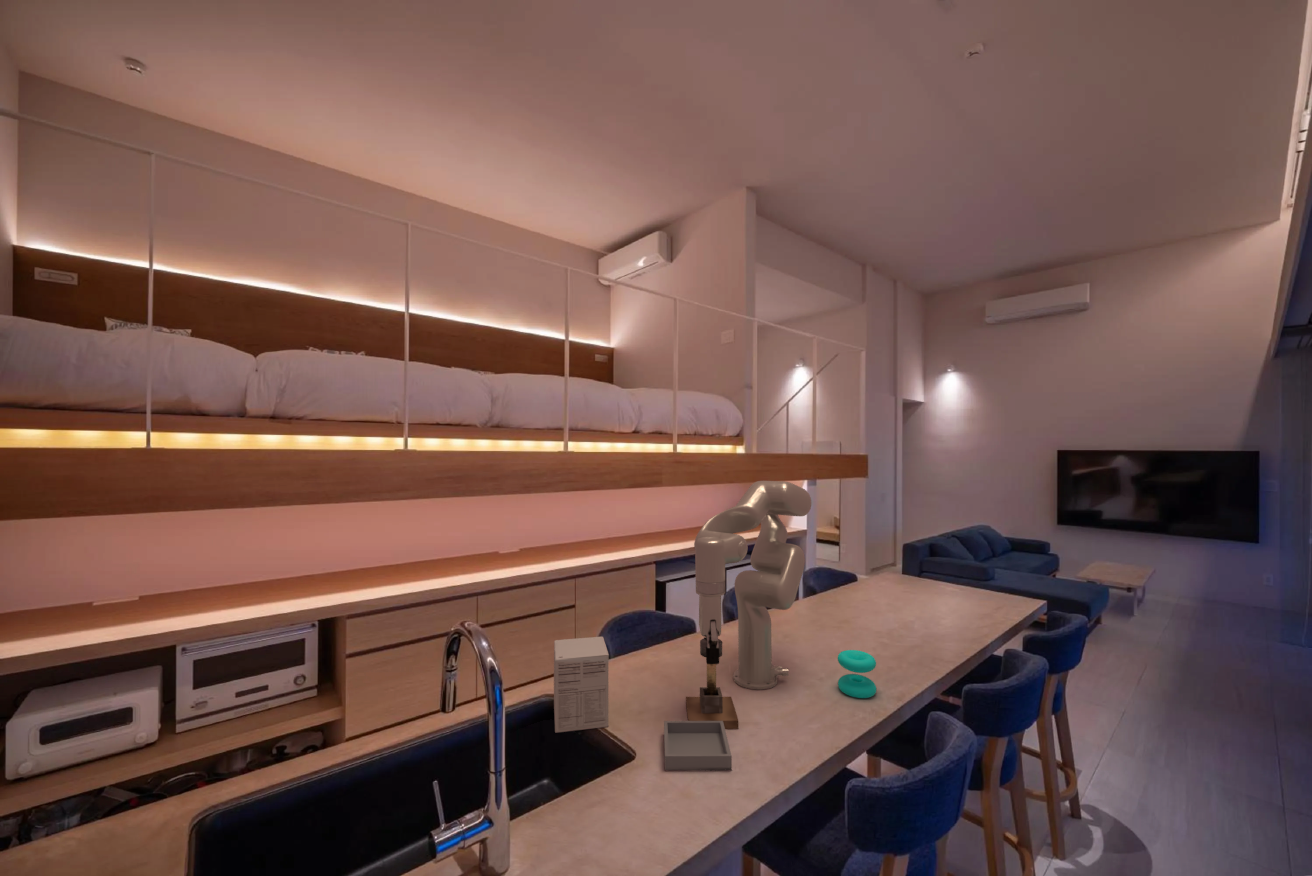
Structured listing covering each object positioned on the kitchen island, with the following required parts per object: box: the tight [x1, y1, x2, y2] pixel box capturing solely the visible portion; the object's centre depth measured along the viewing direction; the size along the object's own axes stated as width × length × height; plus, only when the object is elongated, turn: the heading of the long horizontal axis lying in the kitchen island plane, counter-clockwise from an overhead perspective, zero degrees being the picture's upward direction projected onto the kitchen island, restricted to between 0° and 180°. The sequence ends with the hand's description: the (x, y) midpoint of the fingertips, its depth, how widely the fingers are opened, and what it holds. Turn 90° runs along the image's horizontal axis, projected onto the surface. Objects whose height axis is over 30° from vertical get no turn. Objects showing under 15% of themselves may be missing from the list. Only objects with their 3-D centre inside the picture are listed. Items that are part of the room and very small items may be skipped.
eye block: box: [685, 686, 740, 730], centre depth 130 cm, size 12×12×6 cm
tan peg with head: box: [699, 637, 723, 696], centre depth 130 cm, size 6×6×13 cm
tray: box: [663, 720, 733, 772], centre depth 115 cm, size 14×14×3 cm
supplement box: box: [553, 636, 610, 734], centre depth 130 cm, size 13×13×18 cm
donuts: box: [837, 649, 877, 699], centre depth 143 cm, size 10×10×10 cm
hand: (711, 657), depth 130 cm, fingers closed on tan peg with head, 5 cm apart
